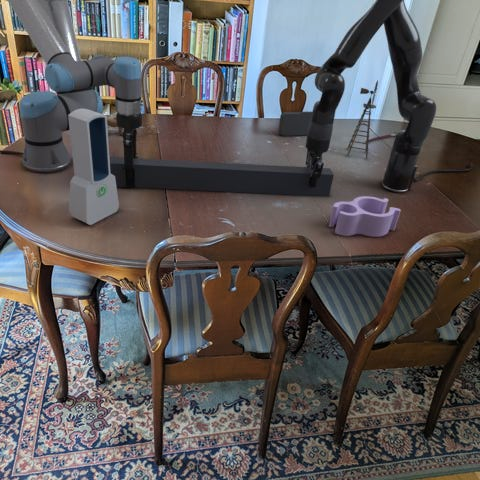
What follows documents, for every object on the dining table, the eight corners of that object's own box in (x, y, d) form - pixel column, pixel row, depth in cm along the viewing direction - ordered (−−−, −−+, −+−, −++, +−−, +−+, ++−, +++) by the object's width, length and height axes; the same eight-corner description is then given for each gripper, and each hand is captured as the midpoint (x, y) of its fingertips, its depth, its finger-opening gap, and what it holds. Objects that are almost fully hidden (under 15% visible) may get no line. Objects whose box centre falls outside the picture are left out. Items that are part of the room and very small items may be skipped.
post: (109, 186, 150) (107, 163, 145) (111, 179, 154) (110, 156, 150) (329, 196, 159) (333, 174, 154) (325, 189, 163) (330, 168, 158)
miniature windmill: (367, 159, 190) (386, 84, 173) (346, 156, 191) (363, 81, 174) (366, 151, 197) (385, 79, 181) (346, 148, 198) (363, 76, 182)
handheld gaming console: (323, 132, 212) (327, 111, 207) (326, 134, 210) (330, 113, 205) (277, 134, 205) (280, 111, 200) (279, 136, 203) (282, 113, 198)
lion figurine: (130, 130, 193) (129, 109, 188) (132, 135, 188) (131, 113, 184) (93, 131, 188) (91, 109, 183) (94, 136, 184) (93, 114, 179)
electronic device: (87, 227, 129) (77, 121, 112) (68, 218, 132) (56, 113, 115) (120, 210, 138) (114, 110, 122) (101, 202, 141) (94, 103, 125)
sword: (403, 131, 224) (404, 129, 223) (408, 133, 222) (409, 131, 221) (360, 143, 208) (360, 140, 207) (365, 145, 206) (366, 142, 205)
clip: (342, 240, 135) (347, 220, 131) (322, 219, 145) (326, 199, 141) (399, 234, 141) (406, 214, 137) (377, 213, 151) (382, 194, 147)
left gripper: (138, 123, 133) (140, 196, 145) (144, 104, 148) (145, 171, 160) (111, 122, 132) (115, 194, 144) (120, 102, 147) (123, 170, 160)
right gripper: (336, 144, 143) (325, 193, 153) (325, 127, 155) (316, 174, 164) (312, 142, 142) (303, 192, 152) (303, 126, 154) (295, 173, 164)
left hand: (131, 182), depth 152 cm, fingers closed on post, 5 cm apart
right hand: (310, 182), depth 158 cm, fingers closed on post, 5 cm apart
